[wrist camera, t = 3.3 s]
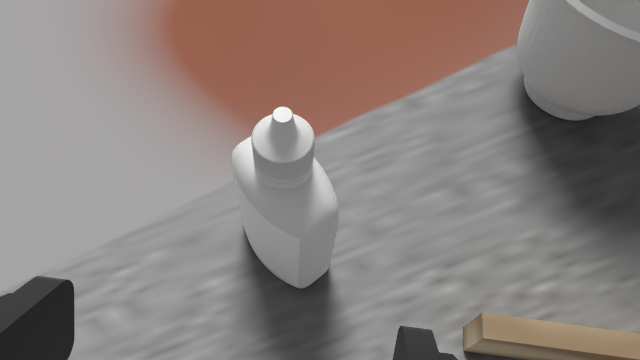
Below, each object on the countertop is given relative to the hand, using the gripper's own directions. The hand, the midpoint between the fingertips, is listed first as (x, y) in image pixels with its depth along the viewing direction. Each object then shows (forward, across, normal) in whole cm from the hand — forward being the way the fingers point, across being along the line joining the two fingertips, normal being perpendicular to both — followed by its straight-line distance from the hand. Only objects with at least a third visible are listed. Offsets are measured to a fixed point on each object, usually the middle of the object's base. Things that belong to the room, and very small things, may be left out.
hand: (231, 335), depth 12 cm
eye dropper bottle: (+16, 0, +4) cm, 16 cm away
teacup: (+27, -18, -7) cm, 33 cm away
